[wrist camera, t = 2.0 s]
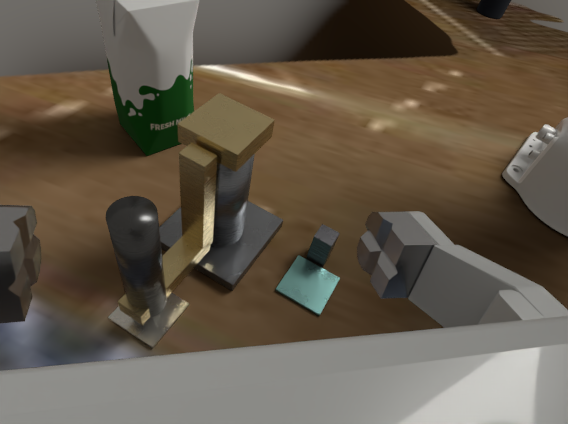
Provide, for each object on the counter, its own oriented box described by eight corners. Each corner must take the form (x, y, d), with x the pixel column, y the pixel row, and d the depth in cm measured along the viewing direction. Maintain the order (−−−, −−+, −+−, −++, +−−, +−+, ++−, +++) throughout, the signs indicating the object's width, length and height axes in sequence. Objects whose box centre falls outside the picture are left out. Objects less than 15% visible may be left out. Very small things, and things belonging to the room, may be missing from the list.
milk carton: (170, 104, 57) (161, -58, 42) (205, 141, 54) (210, -22, 39) (109, 122, 53) (75, -51, 38) (143, 164, 49) (121, -11, 34)
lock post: (209, 187, 48) (212, 92, 39) (348, 263, 45) (391, 179, 35) (86, 304, 37) (47, 211, 27) (260, 421, 33) (288, 362, 23)
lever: (214, 195, 45) (219, 93, 35) (257, 218, 44) (274, 120, 34) (106, 302, 35) (71, 201, 25) (157, 336, 34) (142, 244, 24)
